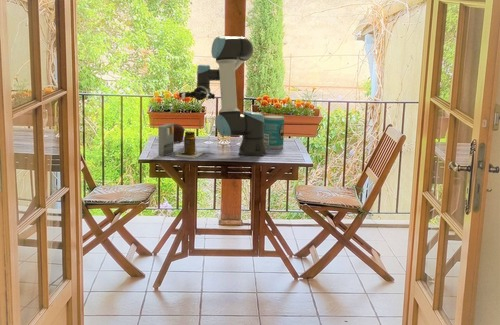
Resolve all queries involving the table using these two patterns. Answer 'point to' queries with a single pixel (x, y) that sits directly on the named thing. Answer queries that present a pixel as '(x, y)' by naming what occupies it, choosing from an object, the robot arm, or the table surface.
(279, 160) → the table surface
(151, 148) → the table surface
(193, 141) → the condiment
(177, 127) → the muffin
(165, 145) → the breaker box
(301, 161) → the table surface
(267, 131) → the food can
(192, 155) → the tile
